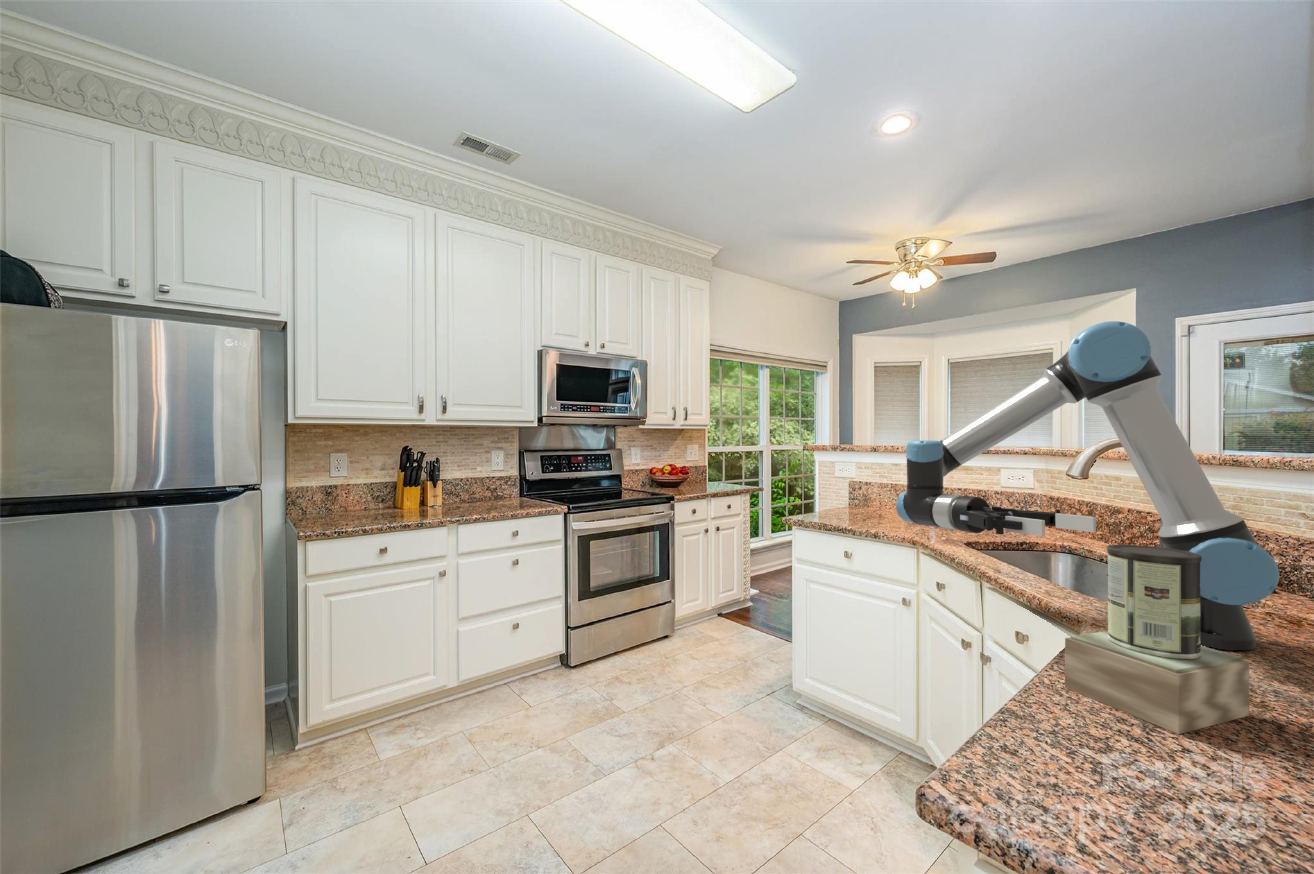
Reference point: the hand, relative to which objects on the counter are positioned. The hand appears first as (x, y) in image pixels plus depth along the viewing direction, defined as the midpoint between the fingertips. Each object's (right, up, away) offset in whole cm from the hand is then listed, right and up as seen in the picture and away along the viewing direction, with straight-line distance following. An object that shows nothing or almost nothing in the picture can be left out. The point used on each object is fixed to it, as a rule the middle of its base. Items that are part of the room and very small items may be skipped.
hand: (1070, 526), depth 94 cm
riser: (0, -23, -15) cm, 28 cm away
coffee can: (0, -15, -15) cm, 21 cm away
